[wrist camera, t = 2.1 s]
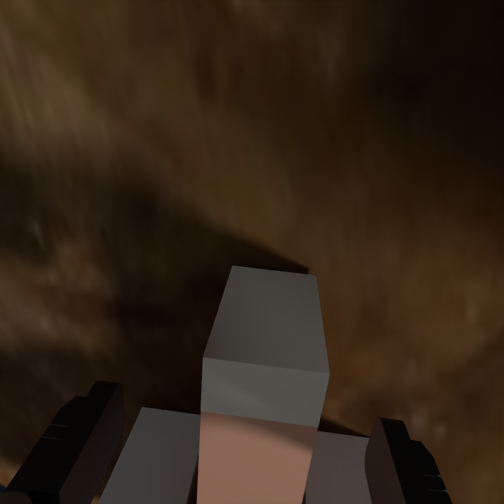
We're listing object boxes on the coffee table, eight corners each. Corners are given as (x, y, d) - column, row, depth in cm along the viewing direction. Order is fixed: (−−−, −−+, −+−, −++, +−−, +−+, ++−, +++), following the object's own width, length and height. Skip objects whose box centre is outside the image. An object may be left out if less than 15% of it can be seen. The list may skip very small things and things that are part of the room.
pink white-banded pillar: (315, 275, 16) (329, 373, 11) (272, 523, 23) (267, 664, 17) (232, 265, 16) (203, 357, 11) (213, 515, 23) (190, 651, 17)
